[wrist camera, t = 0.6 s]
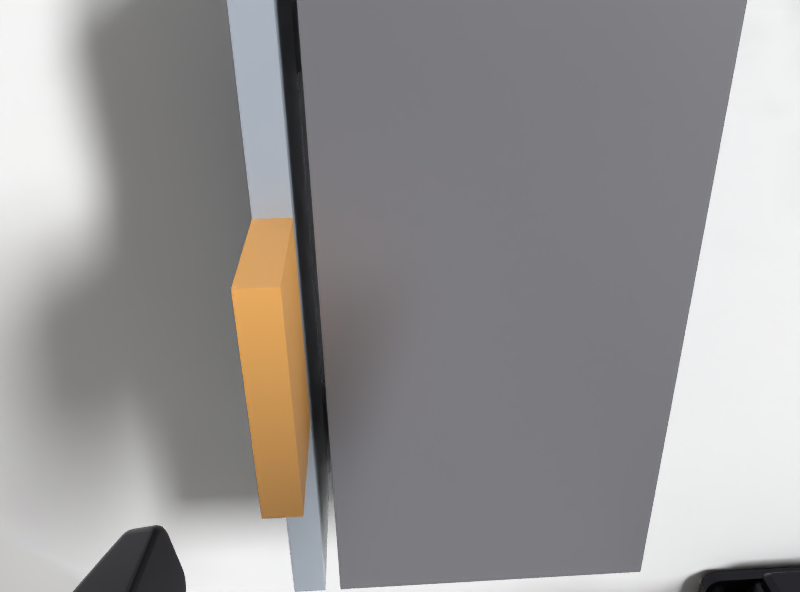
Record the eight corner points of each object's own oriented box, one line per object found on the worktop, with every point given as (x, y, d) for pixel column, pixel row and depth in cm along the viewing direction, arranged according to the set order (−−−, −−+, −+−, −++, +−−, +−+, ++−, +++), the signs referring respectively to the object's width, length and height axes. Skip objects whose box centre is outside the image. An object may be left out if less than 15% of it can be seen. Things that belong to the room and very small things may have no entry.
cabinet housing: (588, 450, 25) (640, 571, 20) (342, 463, 24) (340, 588, 20) (667, -168, 17) (782, -189, 12) (301, -163, 16) (283, -184, 12)
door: (332, 470, 24) (326, 696, 17) (301, 471, 24) (282, 699, 17) (290, -99, 17) (250, -93, 10) (244, -98, 17) (171, -92, 10)
